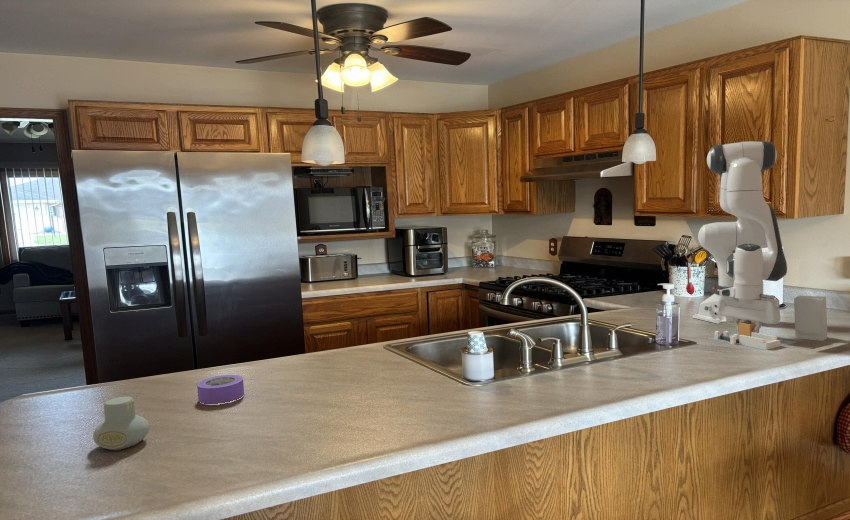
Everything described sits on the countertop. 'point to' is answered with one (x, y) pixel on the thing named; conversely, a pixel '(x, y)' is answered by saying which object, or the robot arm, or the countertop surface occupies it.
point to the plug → (746, 328)
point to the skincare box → (810, 317)
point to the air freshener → (120, 425)
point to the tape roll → (220, 389)
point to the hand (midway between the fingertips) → (747, 332)
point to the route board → (750, 340)
